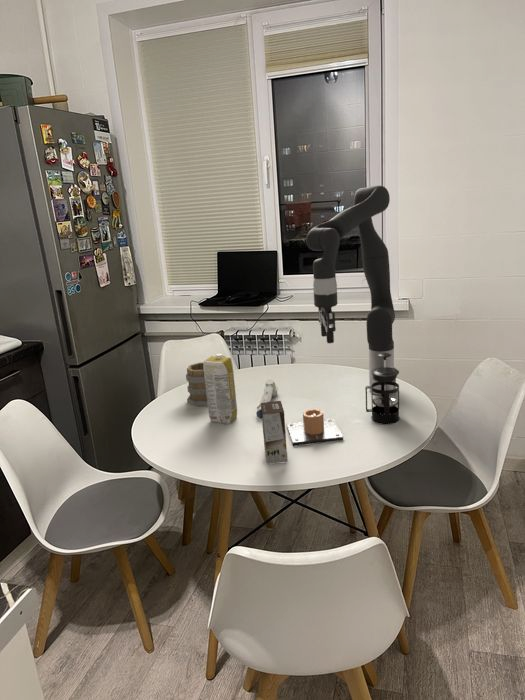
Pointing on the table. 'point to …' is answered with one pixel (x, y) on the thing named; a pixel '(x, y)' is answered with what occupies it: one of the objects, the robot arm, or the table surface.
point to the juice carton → (220, 389)
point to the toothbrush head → (267, 395)
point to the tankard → (196, 385)
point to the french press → (384, 395)
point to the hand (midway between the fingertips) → (327, 339)
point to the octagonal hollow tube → (313, 421)
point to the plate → (303, 438)
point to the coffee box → (274, 432)
